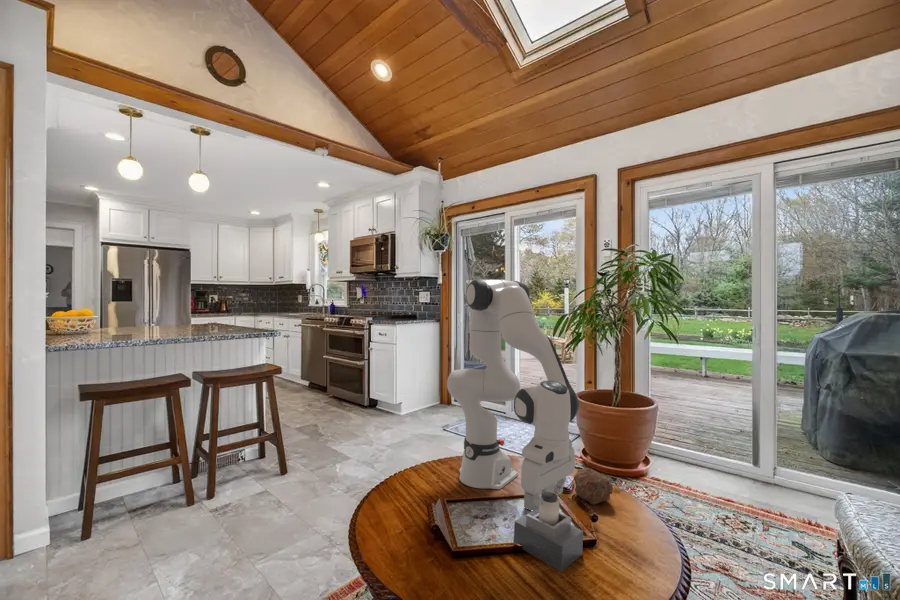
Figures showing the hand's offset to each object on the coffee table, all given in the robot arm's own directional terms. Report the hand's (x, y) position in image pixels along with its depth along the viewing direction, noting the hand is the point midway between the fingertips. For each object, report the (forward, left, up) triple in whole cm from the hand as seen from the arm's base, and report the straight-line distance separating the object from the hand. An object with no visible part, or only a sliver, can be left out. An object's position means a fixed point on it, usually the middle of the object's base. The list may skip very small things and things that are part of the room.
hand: (548, 498), depth 102 cm
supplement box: (-16, -13, -13) cm, 24 cm away
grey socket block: (-1, 0, -13) cm, 13 cm away
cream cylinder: (0, 0, -7) cm, 7 cm away
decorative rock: (-34, -5, -13) cm, 36 cm away
